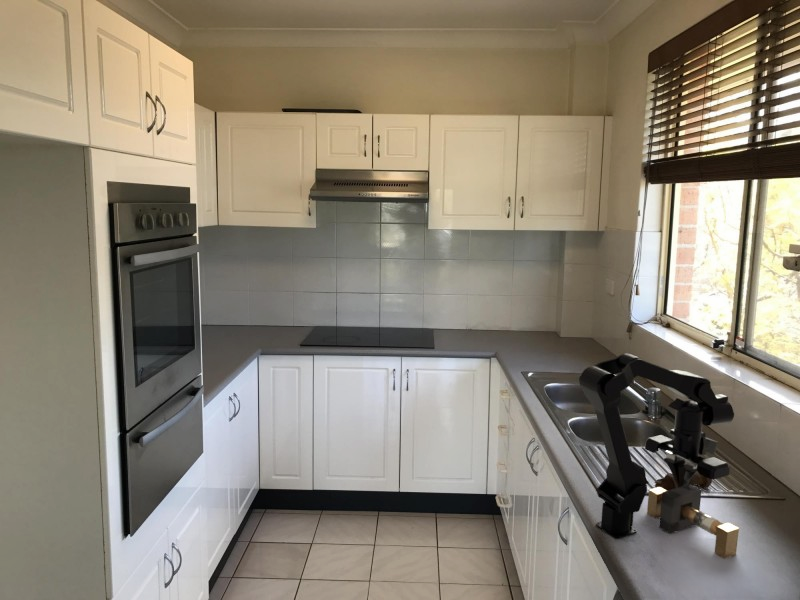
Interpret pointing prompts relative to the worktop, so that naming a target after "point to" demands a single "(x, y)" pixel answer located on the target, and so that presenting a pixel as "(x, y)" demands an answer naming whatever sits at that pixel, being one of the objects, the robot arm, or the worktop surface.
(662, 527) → the dark grey square ring
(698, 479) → the bolt
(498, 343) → the worktop surface
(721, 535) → the square head rod
